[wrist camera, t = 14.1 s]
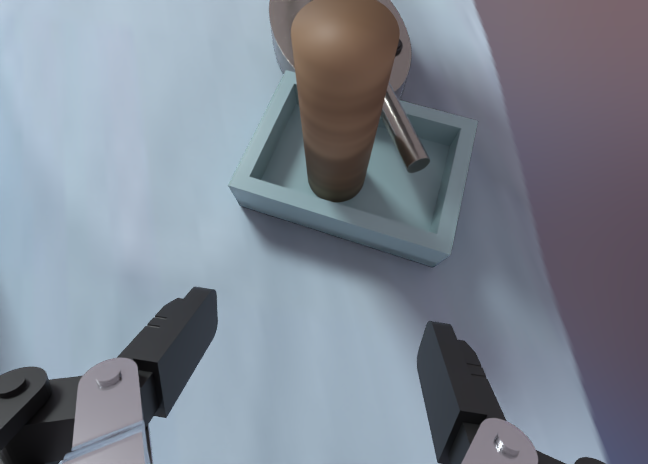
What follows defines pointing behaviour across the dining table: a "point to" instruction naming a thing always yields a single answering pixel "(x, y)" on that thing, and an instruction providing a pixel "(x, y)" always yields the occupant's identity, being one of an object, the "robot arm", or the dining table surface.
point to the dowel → (341, 88)
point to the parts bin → (379, 186)
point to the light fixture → (409, 147)
